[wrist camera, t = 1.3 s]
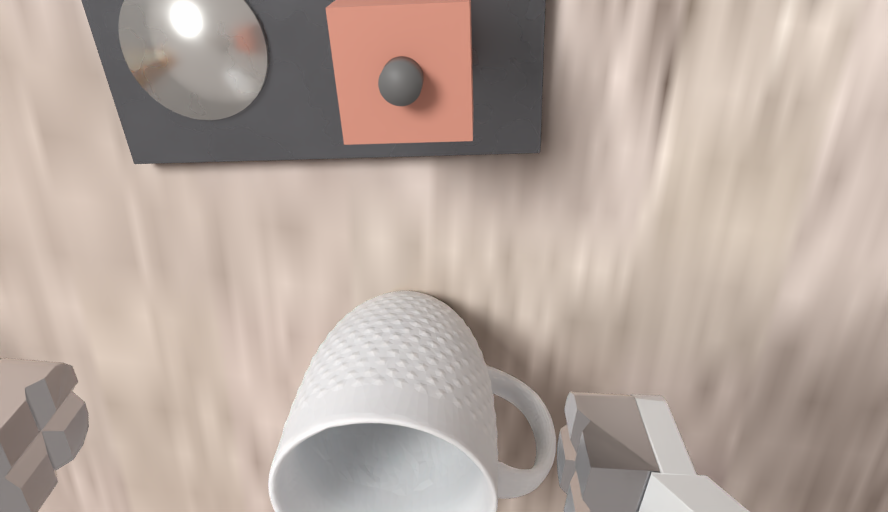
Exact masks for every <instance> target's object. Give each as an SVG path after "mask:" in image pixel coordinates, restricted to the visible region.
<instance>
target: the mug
mask: <svg viewBox="0 0 888 512" xmlns="http://www.w3.org/2000/svg"><path fill="white" fill-rule="evenodd" d="M493 394H495V395H497V396H500V397H502V398H504V399H506V400H507V401H509V402H511V403H512V404H513V405H514V406H516V407H517V408H518V409H519V410H520V411H521V412H522V413H523V414H524V416H525V417H526V419H527V420H528V422H529V424H530V426H531V428H532V431H533V433H534V437H535V441H536V459H535V463H534V466H533V467H532V468H531V469H517V468H514V467H511V466H509V465H507V464H505V463H503V462H500V461H498V448H497V438H498V435H497V433H498V432H497V427H496V412H495V408H494V396H493ZM555 453H556V435H555V429H554V425H553V421H552V418H551V415H550V413H549V411H548V409H547V407H546V406H545V404H544V402H543V401H542V400H541V398H540V397H539V396H538V394H537V393H536V392H535V391H533V390H532V389H531V388H530V387H529V386H527V385H526V384H525V383H523V382H522V381H520V380H518V379H517V378H515V377H513V376H511V375H509V374H507V373H506V372H503V371H501V370H498V369H496V368H493V367H490V366H488V365H486V363H485V361H484V358H483V354H482V351H481V350H480V348H479V346H478V343H477V340H476V339H475V338H474V336H473V335H472V332H471V329H470V328H469V327H468V326H467V325H466V324H465V322H464V320H463V319H462V318H461V317H459V316H458V314H457V313H456V312H455V311H454V310H453V309H451V308H450V307H449V306H448V305H446V304H445V303H443V302H442V301H440V300H438V299H436V298H434V297H432V296H430V295H427V294H424V293H420V292H414V291H395V292H389V293H385V294H382V295H379V296H376V297H374V298H372V299H370V300H367V301H365V302H364V303H362V304H360V305H358V306H356V307H355V308H354V309H353V310H352V311H351V312H349V313H348V314H346V316H345V317H344V318H343V319H342V320H340V321H339V322H338V323H337V325H336V326H335V328H334V329H333V330H332V331H330V332H329V333H328V335H327V338H326V339H325V340H324V342H323V343H322V344H321V345H320V346H319V349H318V351H317V353H316V354H315V355H314V356H313V358H312V360H311V364H310V366H309V368H308V369H307V371H306V372H305V375H304V379H303V381H302V383H301V385H300V387H299V388H298V391H297V395H296V398H295V400H294V402H293V403H292V406H291V411H290V414H289V417H288V419H287V420H286V422H285V425H284V429H283V434H282V437H281V439H280V442H279V445H278V448H277V451H276V454H275V456H274V459H273V462H272V465H271V469H270V473H269V481H268V488H269V496H270V500H271V503H272V506H273V508H274V510H275V512H497V506H498V498H506V499H510V498H516V497H520V496H524V495H526V494H528V493H530V492H532V491H533V490H535V489H536V488H537V487H538V486H539V485H540V484H541V483H542V482H543V481H544V479H545V478H546V476H547V475H548V473H549V471H550V469H551V467H552V465H553V462H554V458H555Z"/></svg>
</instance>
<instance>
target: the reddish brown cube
mask: <svg viewBox="0 0 888 512" xmlns="http://www.w3.org/2000/svg"><path fill="white" fill-rule="evenodd" d="M326 15H327V23H328V30H329V38H330V45H331V52H332V60H333V67H334V74H335V82H336V89H337V96H338V104H339V111H340V118H341V126H342V133H343V140H344V145H352V144H386V143H421V142H455V141H473V71H472V28H471V0H335V1H334V2H332V3H331V4H330V5H329V6H327V7H326Z"/></svg>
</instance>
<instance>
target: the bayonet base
mask: <svg viewBox="0 0 888 512" xmlns="http://www.w3.org/2000/svg"><path fill="white" fill-rule="evenodd" d="M334 1H335V0H82V3H83V7H84V10H85V13H86V16H87V19H88V22H89V25H90V28H91V31H92V34H93V37H94V41H95V44H96V47H97V50H98V53H99V56H100V59H101V62H102V65H103V68H104V71H105V75H106V78H107V81H108V84H109V87H110V90H111V93H112V96H113V99H114V102H115V106H116V109H117V112H118V115H119V118H120V121H121V124H122V127H123V130H124V133H125V136H126V140H127V143H128V146H129V149H130V152H131V155H132V158H133V161H134V164H151V163H188V162H225V161H261V160H298V159H334V158H371V157H407V156H444V155H480V154H517V153H540V146H541V116H542V87H543V57H544V28H545V0H471V28H472V71H473V141H455V142H421V143H386V144H352V145H344V140H343V133H342V126H341V118H340V111H339V104H338V96H337V89H336V82H335V74H334V67H333V60H332V52H331V45H330V38H329V30H328V23H327V15H326V7H327V6H329V5H330V4H331V3H332V2H334Z"/></svg>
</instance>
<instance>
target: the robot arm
mask: <svg viewBox="0 0 888 512" xmlns="http://www.w3.org/2000/svg"><path fill="white" fill-rule="evenodd" d="M77 383H78V380H77V377H76V374H75V372H74V369H73V367H72V366H71V365H68V364H65V363H61V362H48V361H36V360H24V359H12V358H3V359H1V358H0V512H38V511H39V509H40V508H41V506H42V505H43V503H44V502H45V500H46V499H47V497H48V496H49V495H50V493H51V492H52V490H53V489H54V487H55V486H56V484H57V483H58V479H57V472H56V470H57V469H59V468H61V467H62V466H64V465H65V464H67V463H69V462H70V461H72V460H73V459H74V458H75V457H76V455H77V453H78V452H79V450H80V449H81V447H82V446H83V444H84V440H85V437H86V434H87V431H88V427H89V424H88V411H87V407H86V404H85V402H84V401H83V400H82V399H81V398H80V397H78V396H77V395H76V394H75V393H74V392H73V389H74V387H75V386H76V384H77ZM564 410H565V416H566V421H567V424H566V425H565V426H564V427H562V428H561V429H560V433H559V439H558V446H557V470H558V478H559V485H560V488H561V489H562V490H563V491H564V492H565V493H566V494H567V498H566V503H565V507H564V512H750V511H748V510H747V509H746V508H745V507H744V506H742V505H741V504H740V503H739V502H738V501H736V500H735V499H734V498H733V497H732V496H730V495H729V494H728V493H727V492H726V491H724V490H723V489H722V488H721V487H720V486H718V485H717V484H716V483H715V482H714V481H713V480H711V479H710V478H709V477H708V476H703V475H697V473H696V471H695V468H694V466H693V463H692V461H691V459H690V456H689V454H688V451H687V449H686V446H685V444H684V442H683V439H682V437H681V434H680V432H679V430H678V427H677V425H676V422H675V420H674V418H673V415H672V413H671V410H670V408H669V406H668V403H667V401H666V399H664V398H663V397H662V396H658V395H633V394H631V395H625V394H605V393H585V392H570V393H569V395H568V397H567V400H566V404H565V409H564Z"/></svg>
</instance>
